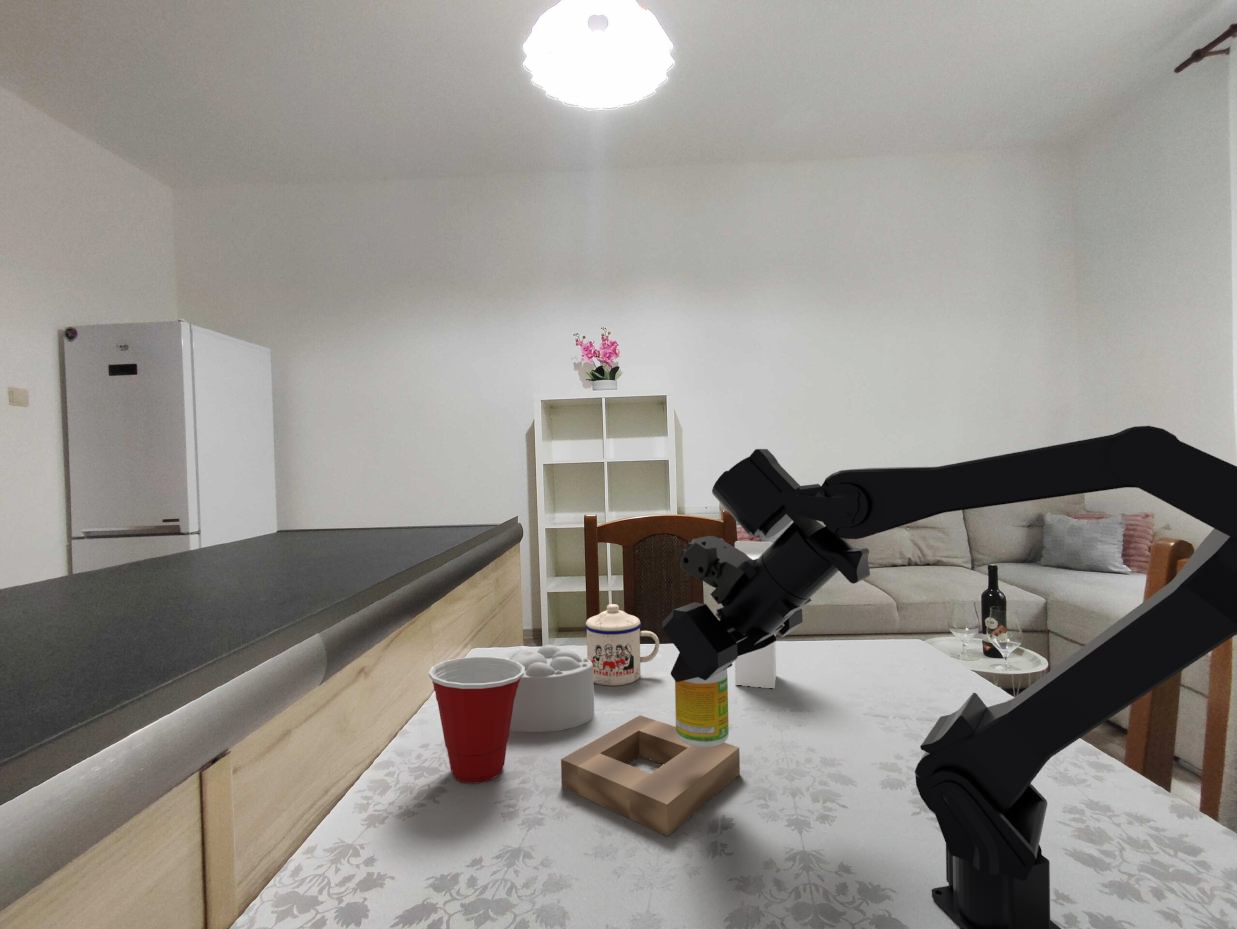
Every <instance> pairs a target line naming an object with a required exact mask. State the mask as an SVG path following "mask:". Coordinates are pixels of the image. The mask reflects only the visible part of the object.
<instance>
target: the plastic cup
mask: <svg viewBox="0 0 1237 929" xmlns="http://www.w3.org/2000/svg"><path fill="white" fill-rule="evenodd" d="M524 672H525V667H524V666H523V665H522V664H520V663H519V662H516V661H513V660H509V659H506V658H504V657H496V656H469V657H458V658H454V659H449V660H448V659H447V660H445V661H441V662H439V663H436V664H435V665H432V666H431V667H430V669H429V670H428V677H429V678H430V679H431V681H432V682H431V683H432V685H433V691H434V693H435V699H436V703H437V707H438V711H439V717H440V722H441V728H442V734H443V740H444V745H445V748H446V751H447V756H448V762H449V767H450V770H451V773H452V776H453V777H454V779H455V780H456V781H459V782H461V783H465V784H480V783H484V782H487V781H491V780H493V779H494V778H496V777H498V776H499V775H500V774H501V773H502V772H503V770H504V766H505V762H506V753H507V747H508V746H507V745H508V742H509V738H510V732H511V731H510V725H511V718H512V712H513V705H514V698H515V697H516V691H517V688H518V684H519V682H520V679H521V677H523V675H524Z"/></svg>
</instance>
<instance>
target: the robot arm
mask: <svg viewBox="0 0 1237 929" xmlns="http://www.w3.org/2000/svg"><path fill="white" fill-rule="evenodd" d="M1124 488H1125V489H1126V488H1135V489H1140V490H1141V491H1144V492H1145V493H1147V494H1149V495H1152V496H1154V497H1155V498H1157V499H1158V500H1161V501H1162V502H1164V503H1166V504H1168V505H1169V506H1172V507H1173V508H1175V509H1177V510H1179V511H1181V512H1183V513H1184V514H1187V515H1189V516H1190V517H1193V518H1194V519H1195V520H1198V521H1199V522H1201V523H1203V524H1205V525H1207V526H1210V527H1211V528H1213V529H1212V530H1211V531H1210V532H1209V534H1208V535H1207V536H1205V538H1204V539H1202V540H1203V541H1202V542H1201V543H1200V544H1199V545H1198V547H1197V548H1196V550H1194V552H1193V553H1192V554H1191V556H1190V557H1189V558H1188V560H1187V561H1186V562H1185V564H1184V565H1183V567H1182V568H1181V569H1180V571H1179V572H1178V573H1177V574H1176V575H1175V577H1174V578H1173V579H1172V580H1171V581H1170V582H1169V583H1167V584H1166V585H1165V586H1163V587H1162V588H1160V589H1159V590H1157V591H1156V592H1155V593H1154V594H1152V595H1151V596H1150V597H1148V598H1147V599H1146V600H1144V601H1143V602H1142V603H1140V604H1139V605H1138V606H1136V607H1135V608H1133V609H1132V610H1131V611H1129V612H1128V613H1127V614H1125V615H1124V616H1123V617H1122V618H1121V617H1120V619H1119V620H1117V621H1116V622H1114V623H1113V624H1112V625H1110V626H1109V627H1108V628H1106V629H1105V630H1104V631H1102V632H1101V633H1099V634H1098V635H1097V636H1095V637H1094V638H1093V639H1092V640H1090V641H1089V642H1088V643H1086V644H1085V645H1084V646H1081V648H1079V649H1078V650H1077V651H1075V652H1074V653H1073V654H1071V655H1070V656H1068V657H1067V658H1066V659H1065V660H1063V661H1062V662H1060V663H1059V664H1058V665H1056V666H1055V667H1054V668H1053V669H1051V670H1050V671H1048V672H1047V673H1046V674H1044V675H1042V677H1040V678H1039V679H1037V680H1036V681H1035V682H1033V683H1032V684H1030V685H1029V686H1028V687H1027V688H1025V689H1024V690H1022V691H1021V692H1020V693H1019V694H1017V695H1016V696H1014V697H1013V698H1011V699H1009V700H1007V701H1004V702H1001V703H997V704H993V705H991V706H987V705H986V704H985V703H984V701H983V700H982V699H981V698H980V696H979V694H978V693H976V692H972V694H971V695H969V697H968V698H967V699H966V701H965V702H964V703H963V704H962V705H961V706H960V707H959V709H957V710H956V711H954V712H952V713H951V714H947V715H942V716H939V718H938V719H937V721H936V722H935V724H934V725H933V727H932V728H931V730H930V731H929V732H928V735H926V738H924V741H923V742H922V743H921V744H920V747H919V748H920V750H921V751H923V752H924V754H923V755H922V757H921V758H920V760H919V761H918V763H917V765H916V767H915V771H914V775H915V786H916V789H917V791H918V793H919V796H920V798H921V800H922V801H923V803H924V804H925V806H926V807H927V809H928V810H929V811H931V812H932V814H934V815H935V817H936V820H937V823H938V826H939V829H940V831H941V834H942V837H943V840H944V842H945V870H946V871H945V873H946V876H945V879H946V882H947V883H948V885H945V886H940V887H934V888H931V898H932V899H933V900H934V901H935V902H936V903H937V904H938V906H940V907H941V908H942V909H943V911H945V912H946V913H947V914H948V915H949V916H950V917H951V918H952V919H953V920H954V921H955V923H957V925H959V927H961V929H1062V928H1061V927H1060V926H1058V924H1056V923H1055V922H1054V921H1052V920H1051V888H1050V887H1051V884H1050V883H1051V875H1050V874H1051V872H1050V871H1051V870H1050V869H1051V868H1050V860H1049V859H1048V858H1047V857H1045V856H1044V855H1043V854H1042V853H1043V852H1042V847H1041V845H1040V842H1041V836H1042V832H1043V825H1044V821H1045V817H1046V812H1047V807H1048V800H1047V799H1046V798H1045V797H1044V796H1043V795H1042V794H1041V793H1040V791H1038V790H1037V788H1035V786H1034V785H1033V784H1032V782H1033V780H1035V778H1036V777H1037V776H1038V774H1039V772H1041V770H1042V769H1043V768H1044V766H1045V765H1046V764H1047V762H1048V761H1050V759H1051V758H1052V757H1053V756H1055V755H1056V754H1058V753H1060V752H1061V751H1063V750H1065V749H1066V748H1067V747H1069V746H1071V745H1072V744H1073V743H1075V742H1076V741H1078V740H1079V739H1081V738H1082V737H1083V736H1085V735H1087V734H1088V733H1090V732H1092V731H1093V730H1094V729H1096V728H1098V726H1100V725H1102V724H1104V723H1105V722H1107V721H1108V720H1110V719H1111V718H1112V717H1114V716H1115V715H1117V714H1118V713H1121V711H1123V710H1124V709H1127V708H1128V707H1129V706H1131V705H1132V704H1135V702H1136V701H1138V700H1140V699H1141V698H1143V697H1144V696H1145V695H1147V694H1148V693H1150V692H1152V691H1153V690H1154V689H1156V688H1157V687H1159V686H1161V685H1162V684H1163V683H1165V682H1168V680H1170V679H1171V678H1173V677H1174V676H1176V675H1177V674H1179V673H1180V672H1182V671H1184V670H1185V669H1187V668H1188V667H1190V666H1191V665H1192V664H1194V663H1195V662H1197V661H1198V660H1200V659H1202V658H1203V657H1205V656H1206V655H1208V654H1209V653H1211V652H1212V651H1214V650H1215V649H1217V648H1218V647H1220V646H1221V645H1223V644H1224V643H1226V642H1227V641H1228V640H1230V639H1232V638H1233V637H1235V636H1237V465H1234V464H1232V463H1230V462H1228V461H1226V460H1224V459H1222V458H1219V457H1217V456H1214V455H1212V454H1209V453H1208V452H1205V451H1203V450H1201V449H1199V448H1196V447H1195V446H1192V445H1190V444H1188V443H1185V442H1184V441H1181V440H1180V439H1179V438H1177V436H1176V435H1175V434H1173V433H1172V432H1170V431H1168V430H1166V429H1165V428H1161V427H1157V426H1152V425H1140V426H1139V425H1138V426H1132V427H1128V428H1125V429H1123V430H1120V431H1119V432H1116V433H1113V434H1109V435H1104V436H1103V435H1102V436H1098V437H1092V438H1087V439H1081V440H1077V441H1069V442H1065V443H1059V444H1055V445H1049V446H1044V447H1038V448H1033V449H1027V450H1021V451H1016V452H1015V451H1014V452H1011V453H1010V452H1009V453H1004V454H999V455H995V456H988V457H985V458H984V457H983V458H977V459H973V460H967V461H961V462H957V463H951V464H946V465H940V466H939V465H938V466H902V467H901V466H899V467H896V466H894V467H866V468H853V469H842V470H839V471H836V472H834V473H831V474H830V475H829V476H827V477H825V479H824V481H823V482H822V485H821V484H819V483H813V484H804V485H800V484H799V483H798V482H797V480H795V478H793V476H792V475H790V473H788V471H786V469H784V468H783V466H782V465H781V464H780V463H779V462H778V459H777V458H776V457H775V455H773V453H772V452H771V451H769V449H768V448H755V449H754V451H753V452H752V453H751V454H750V455H749V456H747V457H745V458H744V459H741V460H740V461H739V462H737V463H736V464H734V465H733V466H732V467H730V469H728V470H725V471H724V472H722V473H721V475H719V477H718V478H717V480H716V481H715V483H714V484H713V486H712V490H711V494H712V495H713V496H714V498H716V500H717V501H718V502H720V504H721V505H722V506H723V508H725V510H726V511H727V512H728V513H729V514H730V515H731V516H732V518H734V520H735V521H736V522H737V523H738V525H739V526H741V528H742V530H743V531H745V532H746V534H748V535H749V537H752V538H753V537H756V536H759V535H761V534H762V535H763V537H764V538H766V539H770V538H772V537H774V536H776V535H777V534H779V533H780V532H782V530H784V531H783V532H782V533H781V534H779V536H778V537H777V538H776V539H775V541H773V542H772V543H773V544H772V545H771V546H770V547H769V548H768V549H767V550H766V551H765V552H764V553H763V554H762V555H761V556H760V557H759V558H758V559H755V560H752V559H751V558H750V557H748V556H747V555H746V554H745V553H743V552H742V551H740V550H738V549H737V548H735V546H733V545H732V544H729V543H728V542H726V541H724V539H721V538H719V537H717V536H714V535H705V536H703V537H702V536H701V537H698V538H693V539H692V540H691V542H688V543H687V545H686V547H685V548H684V549H682V550H680V551H679V557H680V558H681V560H680V567H681V568H682V569H683V571H684V572H685V573H686V574H689V575H691V576H693V577H694V578H695V579H696V580H701V581H702V582H704V583H705V584H707V585H708V586H709V587H710V586H711V587H712V588H714V589H713V591H712V592H711V593H710V594H709V595H710V596H711V597H712V598H713V600H714V601H715V602H716V603H717V604H718V605H720V604H721V606H722V607H720V608H718V609H716V610H715V611H714V612H713V611H712V610H711V609H710V608H709V606H708V605H707V603H702V602H701V603H700V602H695V601H694V602H691V603H689V604H686V605H683V606H680V607H678V608H675V609H673V610H672V611H671V612H670V613H669V614H668V615H667V617H665V619H664V620H663V621H662V623H661V624H662V630H663V632H664V633H665V634H666V636H667V637H668V639H669V640H670V641H671V643H673V645H674V646H675V648H676V649H677V651H678V652H679V653H678V655H677V658H676V660H675V663H674V664H673V667H672V669H671V671H670V676H671V678H672V679H673V680H674V682H675V681H676V682H681V681H685V680H689V679H693V678H697V677H699V678H701V679H703V680H705V681H706V680H707V679H709V678H711V677H713V676H714V675H716V674H718V673H720V672H722V671H724V670H725V669H727V670H728V668H731V667H732V666H733V662H734V663H735V660H736V659H737V656H740V655H743V654H746V653H750V652H753V651H756V650H759V649H762V648H764V647H766V646H768V645H770V644H772V643H773V642H775V641H776V642H777V637H776V634H777V635H778V636H779V637H780V638H781V639H782V638H784V637H785V636H787V635H790V634H791V633H792V632H794V631H795V630H796V629H797V628H798V627H799V626H800V625H801V624H803V608H806V607H807V606H808V605H809V604H810V603H811V602H812V599H811V598H812V597H813V596H814V595H815V594H816V593H817V592H818V591H819V590H820V589H822V588H823V586H825V585H826V584H827V583H828V582H829V581H830V580H831V579H832V578H833V577H834V576H836V574H837V573H840V574H841V575H843V577H844V578H845V579H846V580H847V581H848V582H849V583H850V584H857V583H859V582H861V581H863V580H865V579H867V578H869V577H870V575H871V570H870V564H869V555H870V549H868V548H867V547H861V548H860V547H855V546H853V545H851V544H850V542H849V541H848V540H860V539H863V538H867V537H870V536H873V535H876V534H880V533H883V532H886V531H889V530H893V529H895V528H900V527H903V526H905V525H909V524H912V523H915V522H918V521H921V520H922V521H923V520H924V519H928V518H931V517H934V516H938V515H941V514H944V513H945V514H946V513H952V512H959V511H965V510H966V511H967V510H971V509H972V510H973V509H979V508H987V507H994V506H1002V505H1008V504H1015V503H1017V504H1018V503H1024V502H1030V501H1037V500H1045V499H1046V500H1047V499H1051V498H1052V499H1053V498H1059V497H1067V496H1073V495H1083V494H1089V493H1090V494H1091V493H1095V492H1103V491H1109V490H1110V491H1111V490H1117V489H1124ZM791 522H792V523H791ZM821 523H823V524H824V525H823V524H821ZM789 524H790V525H789ZM788 525H789V526H788ZM787 526H788V527H787ZM786 527H787V528H786ZM785 528H786V529H785ZM774 634H775V635H774Z"/></svg>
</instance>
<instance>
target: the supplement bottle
mask: <svg viewBox="0 0 1237 929" xmlns="http://www.w3.org/2000/svg"><path fill="white" fill-rule="evenodd" d="M728 676H729V675H728V668H727V669H725V670H724V671H722V672H720V673H718V674H716V675H714V676H713V677H711V678H709V679H707V680H706V681H705V680H703V679H701V678H699V677H697V678H693V679H689V680H685V681H681V682H676V681H675V680H674V695H675V696H674V697H675V698H674V699H675V702H674V703H675V727H676V734H677V737H678V738H679V739H680V740H681V741H682V742H684V743H686V744H688V745H692V746H697V747H711V746H717V745H720V744H722V743H726V741H727V740H728V739H729V734H730V733H729V730H730V729H729V689H728V688H729V686H728V685H729V684H728Z"/></svg>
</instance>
